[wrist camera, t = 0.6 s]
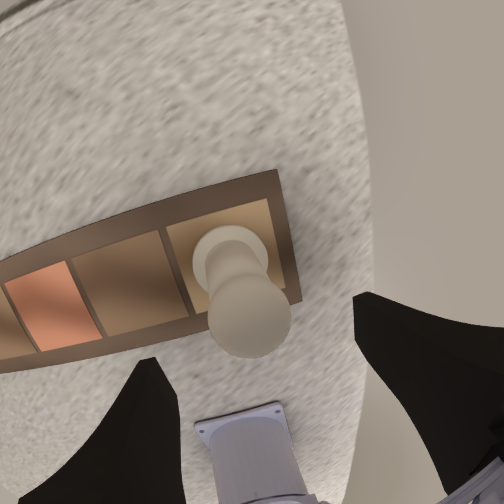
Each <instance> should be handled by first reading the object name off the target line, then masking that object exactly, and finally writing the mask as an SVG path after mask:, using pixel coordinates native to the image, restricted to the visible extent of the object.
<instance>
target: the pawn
mask: <svg viewBox="0 0 504 504" xmlns="http://www.w3.org/2000/svg"><path fill="white" fill-rule="evenodd" d="M267 268H268V254H267V250H266V248H265V246H264V244H263V243H262V241H261V240H260V238H259V237H258V236H257V235H256V234H255V233H254V232H253V231H252V230H250V229H249V228H247V227H244V226H242V225H238V224H223V225H219V226H216V227H214V228H212V229H210V230H209V231H207V232H206V233H205V234H204V235H203V236H202V237H201V238H200V239H199V241H198V242H197V244H196V246H195V248H194V252H193V272H194V275H195V278H196V280H197V282H198V283H199V284H200V286H201V287H202V288H203V289H204V290H205V291H207V292H208V293H209V300H210V304H209V308H208V326H209V329H210V332H211V334H212V336H213V338H214V340H215V341H216V342H217V344H218V345H219V346H220V347H221V348H222V349H224V350H225V351H226V352H228V353H230V354H232V355H234V356H237V357H241V358H258V357H262V356H265V355H267V354H269V353H271V352H272V351H274V350H275V349H277V348H278V347H279V346H280V345H281V344H282V342H283V341H284V339H285V338H286V336H287V334H288V332H289V329H290V325H291V309H290V305H289V302H288V300H287V298H286V296H285V294H284V293H283V292H282V290H281V289H280V288H279V287H278V286H277V285H275V284H274V283H273V282H271V280H270V278H269V277H268V275H267V273H266V272H267Z"/></svg>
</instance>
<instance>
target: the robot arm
mask: <svg viewBox="0 0 504 504" xmlns="http://www.w3.org/2000/svg"><path fill="white" fill-rule="evenodd" d="M353 312H354V335H355V341H356V343H357V345H358V346H359V348H360V350H361V352H362V353H363V355H364V357H365V358H366V360H367V361H368V362H369V364H370V365H371V366H372V368H373V369H374V370H375V371H376V373H377V374H378V375H379V376H380V378H381V379H382V380H383V381H384V382H385V384H386V385H387V386H388V388H389V389H390V390H391V391H392V392H393V394H394V395H395V396H396V398H397V399H398V400H399V401H400V403H401V404H402V406H403V407H404V409H405V410H406V412H407V414H408V415H409V417H410V418H411V420H412V422H413V424H414V425H415V427H416V429H417V430H418V433H419V434H420V436H421V438H422V440H423V442H424V444H425V446H426V448H427V450H428V452H429V454H430V456H431V458H432V461H433V463H434V465H435V467H436V470H437V472H438V475H439V477H440V480H441V482H442V485H443V488H444V490H445V492H446V493H447V495H448V496H447V497H446V498H444V499H443V500H441V501H440V502H438V503H437V504H468V503H469V502H470V501H472V500H473V499H474V498H475V499H474V500H473V502H472V504H504V328H503V327H489V326H480V325H473V324H467V323H462V322H457V321H453V320H448V319H445V318H441V317H438V316H435V315H431V314H428V313H425V312H422V311H419V310H416V309H413V308H411V307H408V306H405V305H403V304H400V303H397V302H395V301H392V300H390V299H387V298H384V297H382V296H379V295H376V294H374V293H371V292H364V293H362V294H359V295H356V296H354V297H353ZM194 429H195V431H196V432H197V434H198V435H199V437H200V438H201V439H202V441H203V442H204V444H205V445H206V446H207V448H208V449H209V451H210V452H211V457H212V463H213V470H214V476H215V483H216V489H217V495H218V500H219V504H330V503H328V502H327V501H321V502H318V501H317V498H316V496H315V494H310V495H309V493H308V491H307V488H306V486H305V483H304V480H303V478H302V475H301V472H300V470H299V467H298V465H297V462H296V459H295V457H294V454H293V451H294V446H293V443H292V439H291V436H290V432H289V429H288V425H287V422H286V418H285V415H284V411H283V407H282V405H281V403H280V402H275V403H272V404H268V405H265V406H262V407H258V408H255V409H251V410H248V411H244V412H240V413H236V414H233V415H229V416H225V417H221V418H216V419H212V420H208V421H203V422H198V423H196V424H194ZM18 504H186V499H185V494H184V489H183V483H182V474H181V442H180V414H179V407H178V400H177V394H176V393H175V391H174V389H173V388H172V386H171V384H170V383H169V381H168V379H167V377H166V376H165V374H164V372H163V370H162V369H161V367H160V365H159V363H158V361H157V359H156V358H155V357H152V358H148V359H143V360H139V362H138V363H137V365H136V367H135V368H134V370H133V372H132V373H131V375H130V377H129V378H128V380H127V382H126V383H125V385H124V387H123V388H122V390H121V392H120V393H119V395H118V397H117V398H116V400H115V402H114V403H113V405H112V406H111V408H110V409H109V411H108V412H107V414H106V415H105V417H104V418H103V420H102V421H101V423H100V424H99V426H98V427H97V428H96V430H95V431H94V432H93V434H92V435H91V436H90V437H89V438H88V440H87V441H86V442H85V443H84V445H83V446H82V447H81V448H80V449H79V450H78V451H77V452H76V453H75V454H74V455H73V456H72V457H71V458H70V459H69V460H68V461H67V462H66V464H65V465H63V466H62V467H61V468H60V469H59V470H58V471H57V472H56V473H55V474H53V475H52V476H51V477H50V478H48V479H47V480H46V481H45V482H43V483H42V484H41V485H39V486H38V487H36V488H35V489H33V490H32V491H30V492H29V493H27V494H26V495H24V496H23V497H21V498H19V501H18Z"/></svg>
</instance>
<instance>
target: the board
mask: <svg viewBox="0 0 504 504" xmlns="http://www.w3.org/2000/svg"><path fill="white" fill-rule="evenodd" d="M223 224H238V225H242V226H244V227H247V228H249V229H250V230H252V231H253V232H254V233H255V234H256V235H257V236H258V237H259V238H260V240H261V241H262V243H263V244H264V246H265V248H266V250H267V254H268V268H267V272H266V273H267V275H268V277H269V278H270V280H271V282H273V283H274V284H275V285H277V286H278V287H279V288H280V289H281V290H282V292H283V293H284V294H285V296H286V298H287V300H288V302H289V305H292V304H295V303H298V302H301V301H302V295H301V289H300V284H299V278H298V272H297V267H296V261H295V256H294V250H293V245H292V240H291V235H290V229H289V224H288V219H287V214H286V209H285V204H284V199H283V194H282V190H281V185H280V180H279V175H278V171H277V169H273V170H269V171H265V172H261V173H257V174H253V175H249V176H245V177H241V178H237V179H233V180H230V181H226V182H222V183H218V184H215V185H211V186H208V187H204V188H201V189H197V190H194V191H190V192H187V193H183V194H180V195H177V196H173V197H170V198H167V199H164V200H160V201H157V202H154V203H151V204H148V205H145V206H142V207H139V208H136V209H133V210H130V211H127V212H124V213H121V214H118V215H115V216H112V217H109V218H106V219H104V220H101V221H98V222H95V223H92V224H90V225H87V226H84V227H82V228H79V229H76V230H74V231H71V232H69V233H66V234H63V235H61V236H58V237H56V238H53V239H51V240H48V241H46V242H43V243H41V244H39V245H36V246H34V247H31V248H29V249H27V250H24V251H22V252H20V253H17V254H15V255H13V256H11V257H8V258H6V259H4V260H2V261H0V374H2V373H9V372H16V371H23V370H29V369H35V368H41V367H47V366H53V365H58V364H64V363H69V362H74V361H79V360H84V359H89V358H94V357H99V356H104V355H108V354H113V353H118V352H122V351H126V350H131V349H135V348H139V347H144V346H148V345H152V344H156V343H160V342H164V341H168V340H172V339H176V338H180V337H183V336H187V335H191V334H195V333H198V332H202V331H206V330H209V326H208V308H209V304H210V300H209V293H208V292H207V291H205V290H204V289H203V288H202V287H201V286H200V284H199V283H198V282H197V280H196V278H195V275H194V272H193V252H194V248H195V246H196V244H197V242H198V241H199V239H200V238H201V237H202V236H203V235H204V234H205V233H206V232H207V231H209V230H210V229H212V228H214V227H216V226H219V225H223Z"/></svg>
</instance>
